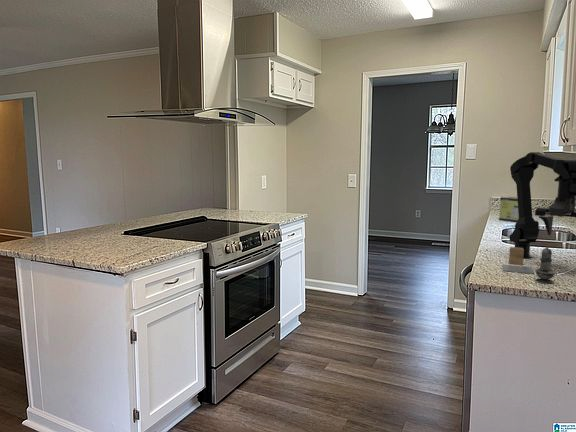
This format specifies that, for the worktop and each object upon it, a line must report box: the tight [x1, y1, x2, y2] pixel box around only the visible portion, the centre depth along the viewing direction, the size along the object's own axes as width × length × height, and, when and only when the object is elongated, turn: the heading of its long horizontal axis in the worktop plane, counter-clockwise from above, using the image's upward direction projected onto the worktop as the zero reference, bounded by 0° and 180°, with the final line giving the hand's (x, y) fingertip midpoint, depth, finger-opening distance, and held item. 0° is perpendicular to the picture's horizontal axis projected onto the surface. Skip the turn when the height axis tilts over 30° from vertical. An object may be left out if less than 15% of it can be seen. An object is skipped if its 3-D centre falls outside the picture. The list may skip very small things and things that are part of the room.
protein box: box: [498, 196, 519, 223], centre depth 292 cm, size 10×16×16 cm
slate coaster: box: [501, 264, 536, 275], centre depth 163 cm, size 10×10×1 cm
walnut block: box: [508, 246, 524, 266], centre depth 172 cm, size 4×4×6 cm
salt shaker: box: [534, 245, 556, 285], centre depth 146 cm, size 6×6×12 cm
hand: (562, 237), depth 162 cm, fingers open, 9 cm apart
